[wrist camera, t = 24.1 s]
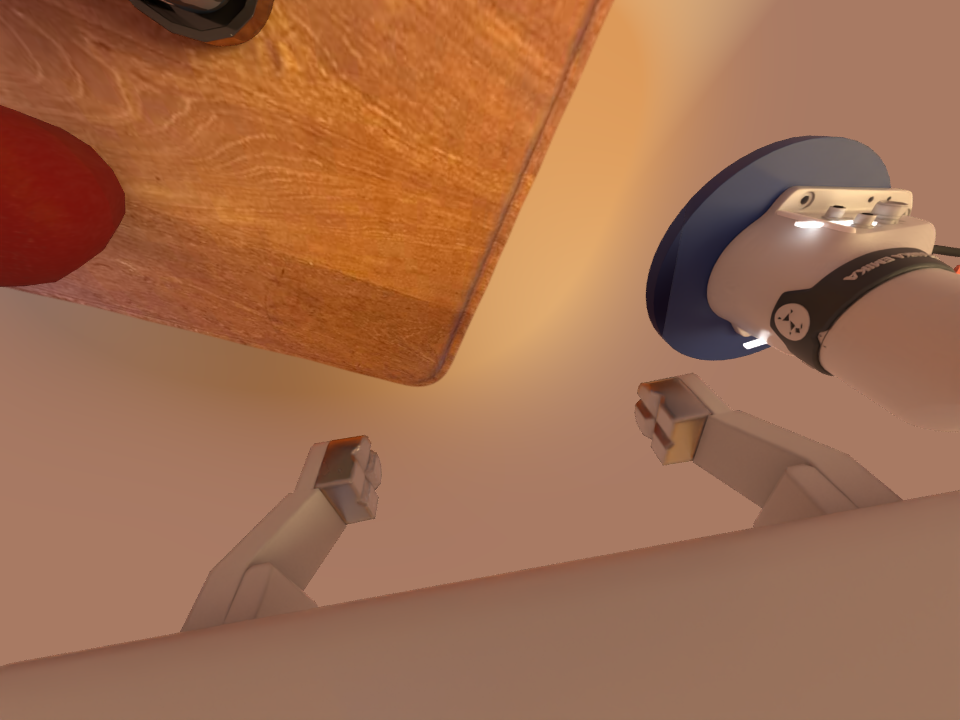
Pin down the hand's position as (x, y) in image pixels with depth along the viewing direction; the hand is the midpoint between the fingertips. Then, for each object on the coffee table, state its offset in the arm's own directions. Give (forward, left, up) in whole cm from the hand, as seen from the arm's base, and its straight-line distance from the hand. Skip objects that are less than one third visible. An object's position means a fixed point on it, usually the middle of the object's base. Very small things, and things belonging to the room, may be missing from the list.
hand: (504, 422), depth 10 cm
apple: (+31, -8, -29) cm, 43 cm away
